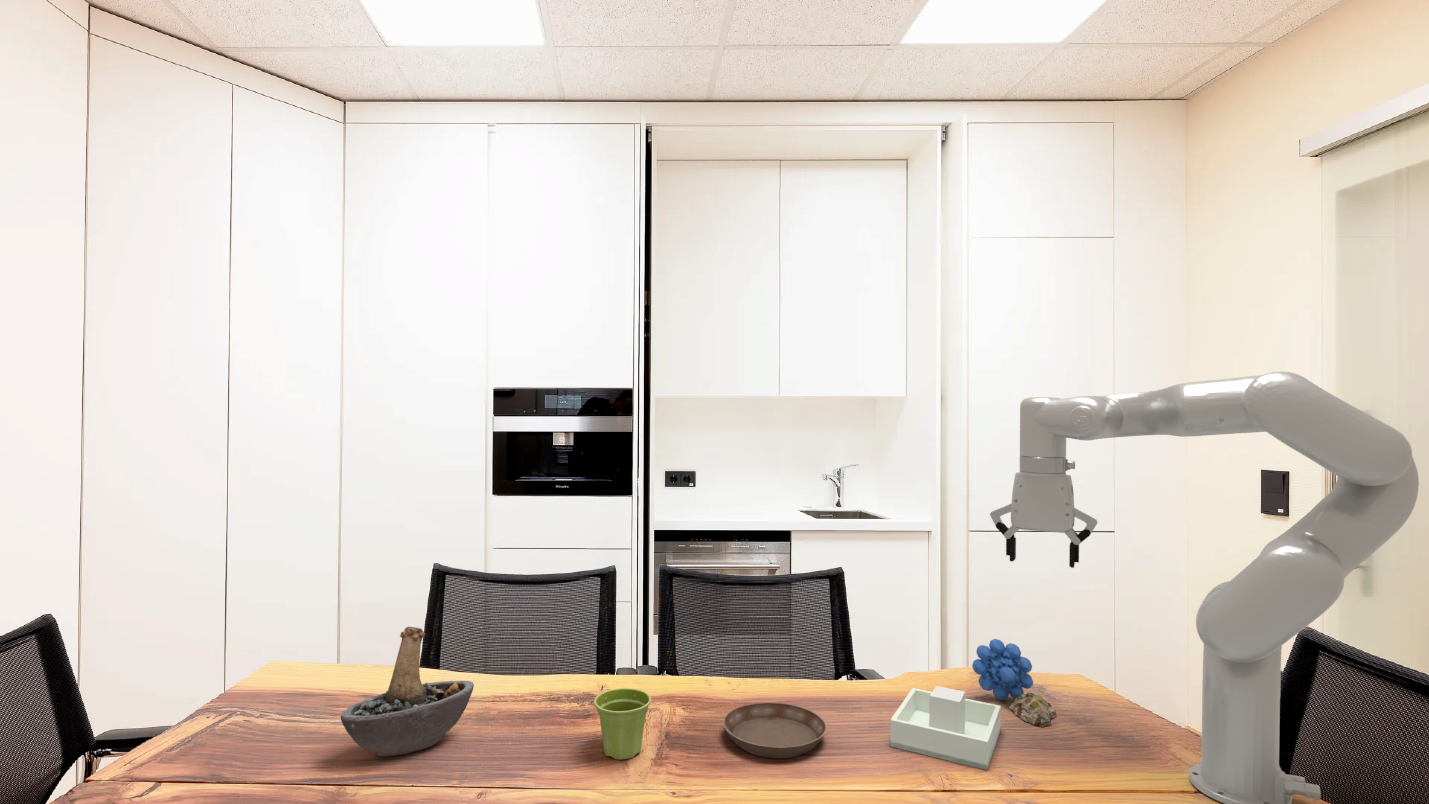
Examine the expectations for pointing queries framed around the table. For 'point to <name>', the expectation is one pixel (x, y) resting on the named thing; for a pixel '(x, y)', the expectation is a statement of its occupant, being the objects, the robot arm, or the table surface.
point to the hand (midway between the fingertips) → (1041, 563)
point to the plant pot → (622, 721)
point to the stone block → (947, 709)
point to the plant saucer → (774, 729)
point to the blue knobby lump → (1002, 669)
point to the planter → (407, 707)
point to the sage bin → (961, 748)
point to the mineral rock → (1033, 709)
